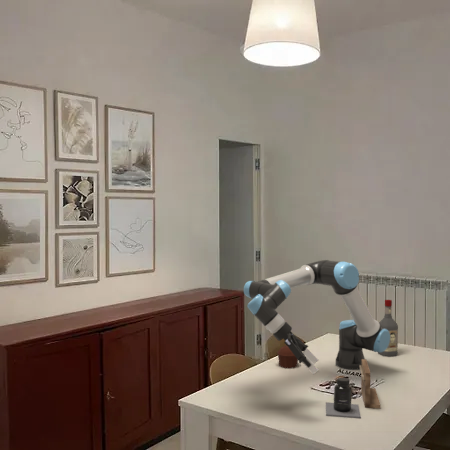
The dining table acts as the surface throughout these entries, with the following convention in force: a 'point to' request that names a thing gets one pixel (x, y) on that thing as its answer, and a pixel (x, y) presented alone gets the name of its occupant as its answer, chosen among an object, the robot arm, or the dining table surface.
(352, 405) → the rubber mat
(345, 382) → the supplement bottle
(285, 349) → the muffin
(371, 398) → the board
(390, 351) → the liquor
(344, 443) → the dining table surface
